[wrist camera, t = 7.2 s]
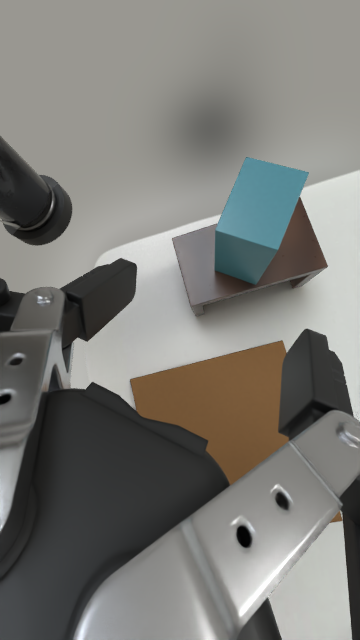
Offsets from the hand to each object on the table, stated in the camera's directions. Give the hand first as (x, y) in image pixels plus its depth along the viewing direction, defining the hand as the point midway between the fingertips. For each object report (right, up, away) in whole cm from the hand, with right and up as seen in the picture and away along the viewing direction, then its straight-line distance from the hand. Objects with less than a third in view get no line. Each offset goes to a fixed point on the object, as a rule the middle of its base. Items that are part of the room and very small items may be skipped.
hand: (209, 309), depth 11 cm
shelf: (+6, +6, +20) cm, 21 cm away
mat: (+4, -15, +17) cm, 23 cm away
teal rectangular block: (+5, +7, +13) cm, 16 cm away
